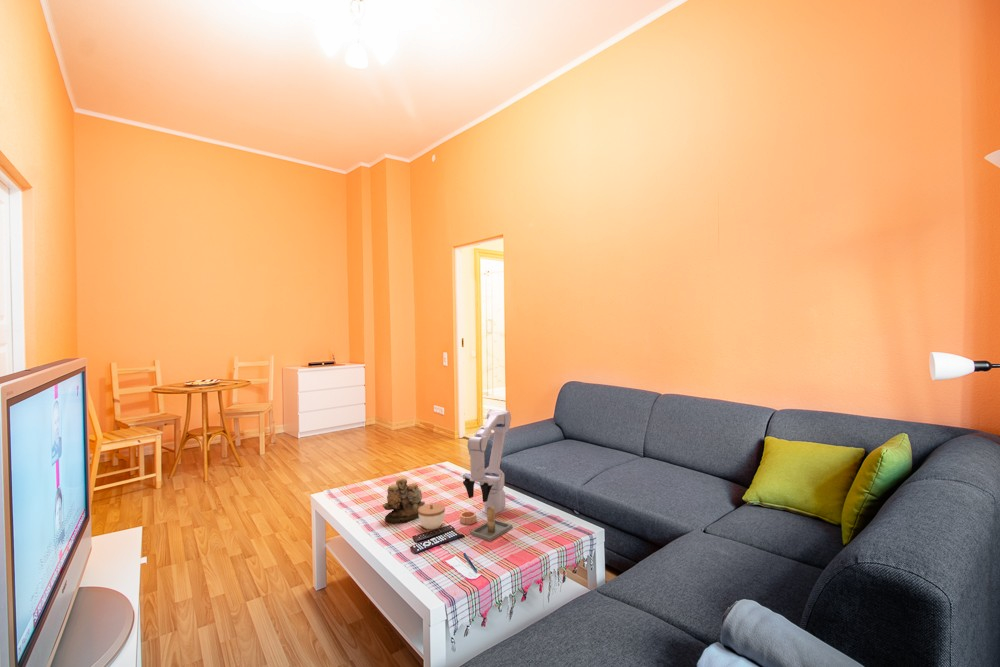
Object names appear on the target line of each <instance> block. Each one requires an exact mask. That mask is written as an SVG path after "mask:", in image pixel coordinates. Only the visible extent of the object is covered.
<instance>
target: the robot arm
mask: <svg viewBox="0 0 1000 667" xmlns="http://www.w3.org/2000/svg"><path fill="white" fill-rule="evenodd" d="M511 420H512V415H511V412H510V410H498V409H497V410H495V409H489V410H488V412H487V413H486V422H485V424H484V425H481V426H480V427H479V429H477V432H475V434H474V435H473V436H470V437H469V438H468V441H467V445H466V446H467V450H468V455H469V459H470V460H469V461H470V462H469V463H470V464H469V465H470V467H469V468H470V473H463V474H462V479H463V481H462V484H463V485H464V487H465V489H466V490H465V491H466V492H467V495H468V498H469V499H473V498H474V494H475V492H474V491H475V490H474V489H475V488H474V487H475V482H476V483H477V482H478V483H479V486H480V490H481V495H482V498H481V499H482V502H483V505H484V506H483V508H481V509H480V511H481V512H484V513H487V508H488V507H494V508H495V515H496V514H498V513H500V512H502V511H503V510H505V509H507V507H508V506H506V492H505V490H504V487H505V473H504V472H503V470H502V469H501V468H500V467H501V462H502V456H503V449H504V443H505V437H506V433H507V432H508V431H509V430H510V427H511V422H512V421H511ZM492 431H494V433H493V434H494V436H493V439H492V440H493V441H492V445H491V446H492V447H491V451H490V452H491V453H490V458H489V462H488V466H487V467H486V468H485V451H486V449H487V446H488V445H487V444H488V441H489V439H490V438H491V436H492Z"/></svg>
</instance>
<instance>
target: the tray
mask: <svg viewBox="0 0 1000 667" xmlns="http://www.w3.org/2000/svg"><path fill="white" fill-rule="evenodd" d="M511 529H513V524H511V523H507V522H505V521H501V520H499V519H495V532H493V533H489V532H488V526H487V521H486V522H484V523H482V524H481V525H479V526H477V527H475V528H474V529H471V530H470V531H469V535H471V536H474V537H476V538H479V539H482V540H485V541H488V542H492V541H494V540H495V539H497V538H498V537H500V536H502V535H503V534H505V533H506V532H508V531H510V530H511Z"/></svg>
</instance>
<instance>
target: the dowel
mask: <svg viewBox="0 0 1000 667" xmlns="http://www.w3.org/2000/svg"><path fill="white" fill-rule="evenodd" d="M486 518H487V521H486V522H487V526H488V532H489V533H493V532H495V520H496V514H495V508H494V507H488V508H487V512H486Z"/></svg>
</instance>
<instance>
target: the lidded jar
mask: <svg viewBox="0 0 1000 667" xmlns="http://www.w3.org/2000/svg"><path fill="white" fill-rule="evenodd" d="M445 507H446V506H445V505H444V504H442V503H437V502H436V503H434V502H433V503H432V502H431V503H427V504H426V503H425V504H424V505H423V506H421V507H420V508H419V509H418V513H419V518H418V521H419V524H420V526H422V528H424V529H426V530H436V529H439V528H440V527H441V526H442V525H443V523H444V521H445V515H446V513H445V512H446V508H445Z"/></svg>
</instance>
